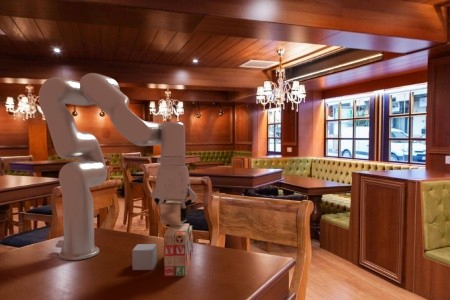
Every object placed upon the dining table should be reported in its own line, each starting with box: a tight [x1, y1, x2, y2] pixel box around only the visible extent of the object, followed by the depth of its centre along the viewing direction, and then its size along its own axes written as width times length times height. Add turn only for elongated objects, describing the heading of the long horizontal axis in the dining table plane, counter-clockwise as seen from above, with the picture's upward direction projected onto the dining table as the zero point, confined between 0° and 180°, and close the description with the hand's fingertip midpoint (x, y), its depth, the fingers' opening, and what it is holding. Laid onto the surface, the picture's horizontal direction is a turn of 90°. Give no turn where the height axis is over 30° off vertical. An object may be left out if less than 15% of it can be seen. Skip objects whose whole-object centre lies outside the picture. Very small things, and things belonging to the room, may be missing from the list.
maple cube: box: [159, 200, 187, 225], centre depth 107 cm, size 6×6×6 cm
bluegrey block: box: [131, 243, 158, 271], centre depth 106 cm, size 6×6×6 cm
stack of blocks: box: [163, 223, 194, 277], centre depth 108 cm, size 21×6×12 cm, turn 0°
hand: (173, 219), depth 107 cm, fingers closed on maple cube, 6 cm apart
